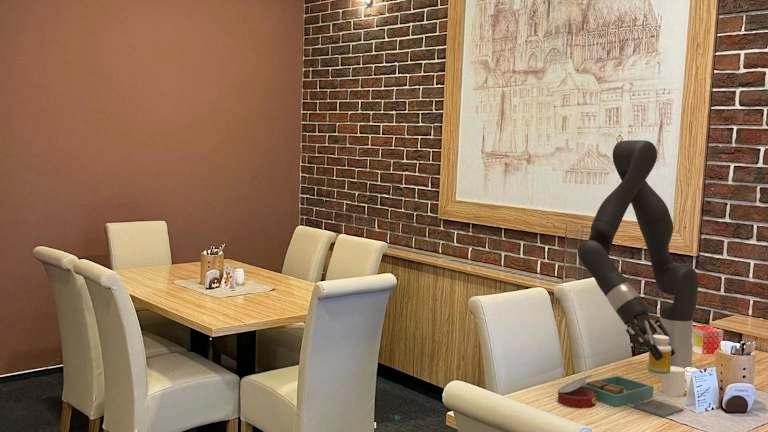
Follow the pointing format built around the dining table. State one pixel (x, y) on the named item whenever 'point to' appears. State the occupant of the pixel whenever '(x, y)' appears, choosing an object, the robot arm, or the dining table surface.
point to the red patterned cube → (706, 339)
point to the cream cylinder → (674, 382)
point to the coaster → (657, 408)
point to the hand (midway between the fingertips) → (666, 357)
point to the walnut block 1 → (597, 384)
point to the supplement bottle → (664, 364)
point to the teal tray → (634, 394)
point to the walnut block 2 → (613, 389)
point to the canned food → (577, 394)
